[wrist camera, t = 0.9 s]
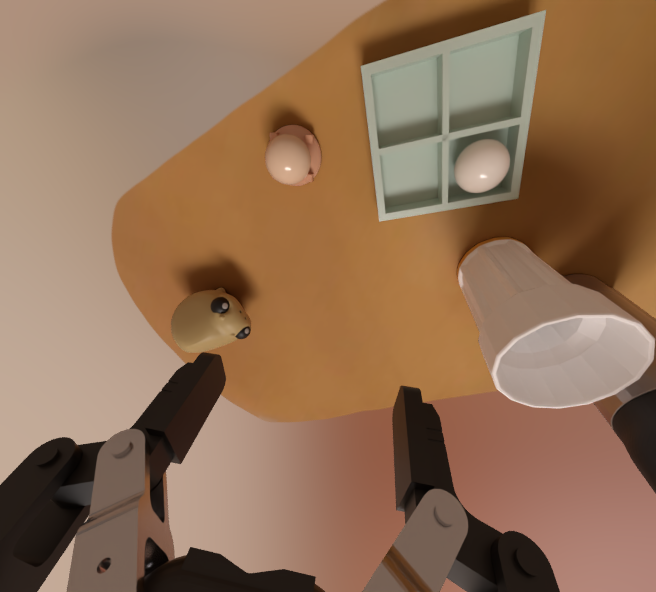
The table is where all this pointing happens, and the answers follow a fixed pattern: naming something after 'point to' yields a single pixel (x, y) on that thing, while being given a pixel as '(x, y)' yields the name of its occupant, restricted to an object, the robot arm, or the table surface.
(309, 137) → the egg cup
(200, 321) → the yellow toy animal head
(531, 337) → the cup
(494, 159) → the cream egg
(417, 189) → the egg tray
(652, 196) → the table surface
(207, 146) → the table surface
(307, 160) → the brown egg
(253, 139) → the table surface
